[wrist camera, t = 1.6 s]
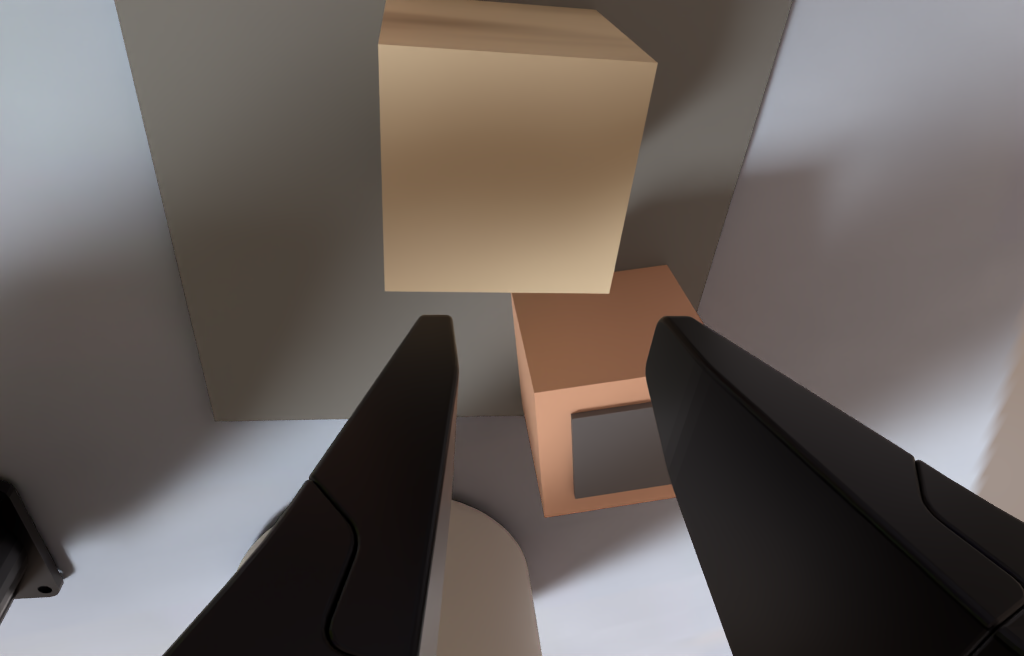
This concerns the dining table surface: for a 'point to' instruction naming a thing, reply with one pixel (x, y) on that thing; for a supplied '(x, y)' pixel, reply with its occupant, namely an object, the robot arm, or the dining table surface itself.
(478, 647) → the cylinder vase
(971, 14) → the dining table surface
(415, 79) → the plain block
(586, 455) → the labelled block
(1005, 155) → the dining table surface
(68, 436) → the dining table surface
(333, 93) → the mat
